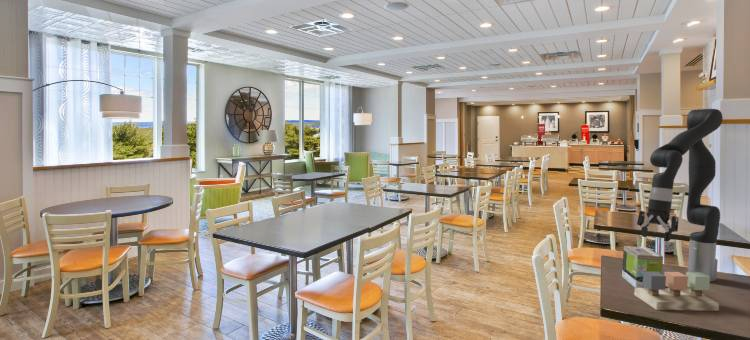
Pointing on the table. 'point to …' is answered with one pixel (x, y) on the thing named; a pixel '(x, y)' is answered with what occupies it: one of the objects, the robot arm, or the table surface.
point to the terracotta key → (676, 280)
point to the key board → (676, 299)
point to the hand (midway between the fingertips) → (654, 239)
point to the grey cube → (654, 280)
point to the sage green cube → (698, 281)
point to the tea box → (640, 264)
